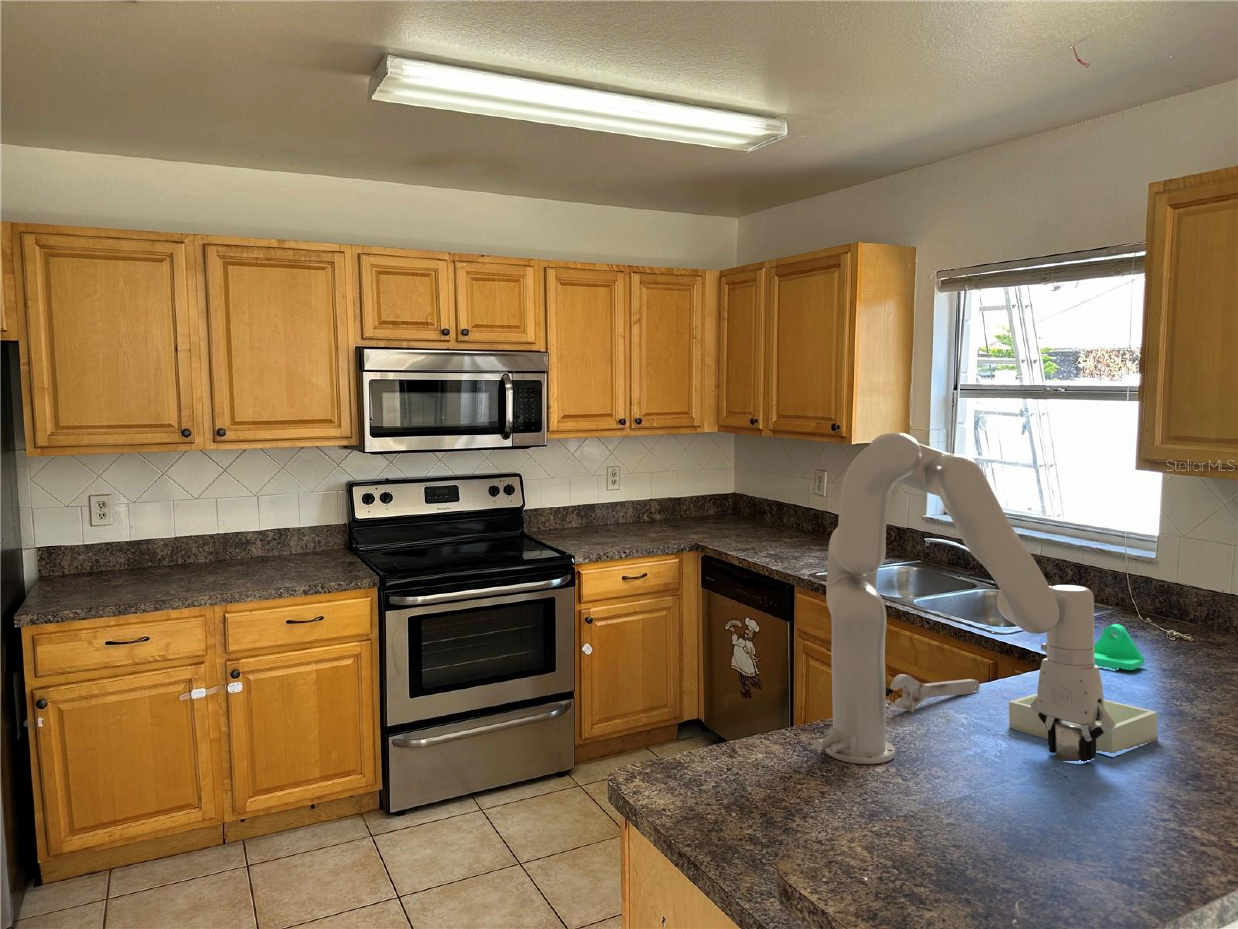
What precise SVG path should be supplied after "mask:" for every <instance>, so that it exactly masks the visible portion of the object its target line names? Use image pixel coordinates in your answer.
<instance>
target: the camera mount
mask: <svg viewBox="0 0 1238 929" xmlns="http://www.w3.org/2000/svg"><path fill="white" fill-rule="evenodd" d="M1114 632H1115V634H1116V635H1115V634H1114ZM1094 653H1095V665H1098V666H1102V667H1109V668H1112V669H1115V670H1116V669H1117V668H1121V669H1120V670H1128V671H1133V670H1136V669H1138V668H1140V667H1142V666H1144V665H1145V657H1144V656H1143V653H1141V651H1140V649H1139V648H1138V646H1137V645H1136V644H1135V642H1134V639H1132V637H1131V635H1130V633H1129V632H1128V630H1127V629H1126V627H1125V626H1123V624H1122V625H1121V624H1118V623H1115V624H1111V625H1108V626H1106V627H1104V629H1103V631H1102V634H1101V636H1100V637H1099V638H1098V640H1097V641H1096V642H1095V643H1094Z"/></svg>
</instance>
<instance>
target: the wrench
mask: <svg viewBox="0 0 1238 929" xmlns="http://www.w3.org/2000/svg"><path fill="white" fill-rule="evenodd" d="M975 686H976V687H975ZM980 687H981V686H980V681H978V680H977V679H972V678H967V679H957V680H946V681H939V682H938V681H937V682H928V683H922V682H920V681H918V680H917V679H915V678H913V676H911V675H907V674H903V673H899V674H897V675H896V676H895V677H894V678H893V679H892V680H891V683H890V687H889V688H890V690H894V691H898V690H899V689H901V688H902V696H901V697H899V698H897V699H896V700H894V703H893V704H894V705H895V707H896V708H899V709H901V710H906V711H908V712H911V713H914V712H915V710H916V708H917V706H918V705H919V704H921V702H922V701H924V700H926V699H930V698H938V697H949V696H961V695H971V693H973V694H975V693H974V691H978V692H979V691H980V689H981V688H980Z"/></svg>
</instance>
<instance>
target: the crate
mask: <svg viewBox="0 0 1238 929" xmlns="http://www.w3.org/2000/svg"><path fill="white" fill-rule="evenodd" d="M1037 693H1038V692H1036V693H1033V694H1029V695H1027V696H1023V697H1019V698H1016V699H1013V700H1010V701H1008V717H1009V718H1008V723H1009V727H1008V728H1009V729H1012V730H1015V731H1018V732H1021V733H1025V734H1029V735H1032V736H1036V737H1039V738H1042V739H1046V740H1048V730H1047V729H1046V728H1045V724H1044V723H1043V722H1042V720H1041V719H1040V718H1039V716H1038V714H1036V712H1035V711H1034V710H1033V709H1032V708H1031V706H1030V705H1031V703H1032V702H1033V701H1034V700H1035V699H1036V698H1037ZM1104 709H1105V710H1106V712H1107V713H1108V715H1109V716H1110V717H1111V719H1112V720H1113V722H1114V723H1115V727H1114V728H1112V729H1110V730H1109V731H1107V732H1105V733H1104V734H1102V735H1101V736H1099V738H1097V739H1096V751H1102V752H1109V753H1116V752H1117V751H1121V750H1123V749H1129V748H1132V747H1134V746H1139V745H1141V744H1145V743H1149V742H1151V743H1153V742H1152V741H1154V742H1156V741H1158V740H1159V737H1158V736H1159V735H1158V734H1159V733H1158V732H1159V730H1158V726H1159V723H1158V712H1157V711H1154V710H1151V709H1145V708H1142V707H1137V706H1134V705H1130V704H1126V703H1122V702H1117V701H1112V700H1108V699H1104ZM1061 721H1065V720H1061ZM1096 725H1097V727H1098V726H1100V725H1101V724H1099V723H1096ZM1155 740H1156V741H1155ZM1149 744H1150V743H1149Z"/></svg>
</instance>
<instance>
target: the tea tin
mask: <svg viewBox="0 0 1238 929" xmlns="http://www.w3.org/2000/svg"><path fill="white" fill-rule="evenodd" d="M1083 739H1084V735H1083V732H1082V729H1081V725H1080V724H1076V723H1072V722H1068V721H1059V722H1056V723H1055V753H1054V754H1055V759H1056V760H1057V761H1059V760H1060V761H1059V762H1062V761H1079V760H1081V740H1083Z"/></svg>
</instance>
